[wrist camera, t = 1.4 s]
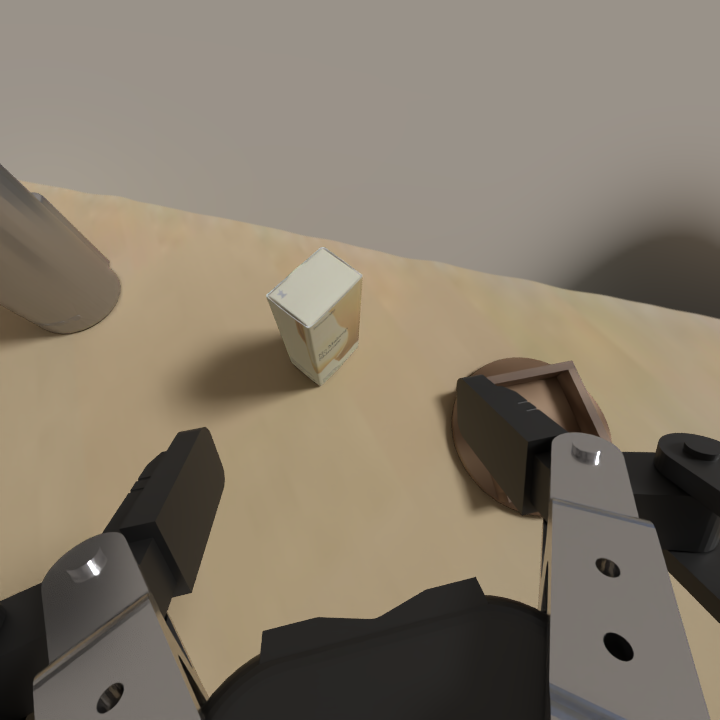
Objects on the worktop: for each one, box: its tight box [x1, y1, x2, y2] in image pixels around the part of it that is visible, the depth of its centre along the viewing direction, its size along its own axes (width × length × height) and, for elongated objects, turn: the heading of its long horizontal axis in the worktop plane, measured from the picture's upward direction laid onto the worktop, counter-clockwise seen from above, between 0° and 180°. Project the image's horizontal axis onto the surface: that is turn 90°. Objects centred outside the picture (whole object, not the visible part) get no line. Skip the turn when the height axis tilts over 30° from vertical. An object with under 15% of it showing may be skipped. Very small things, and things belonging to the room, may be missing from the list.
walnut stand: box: [452, 358, 612, 516], centre depth 31 cm, size 15×15×3 cm
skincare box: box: [266, 247, 362, 386], centre depth 30 cm, size 6×4×12 cm
